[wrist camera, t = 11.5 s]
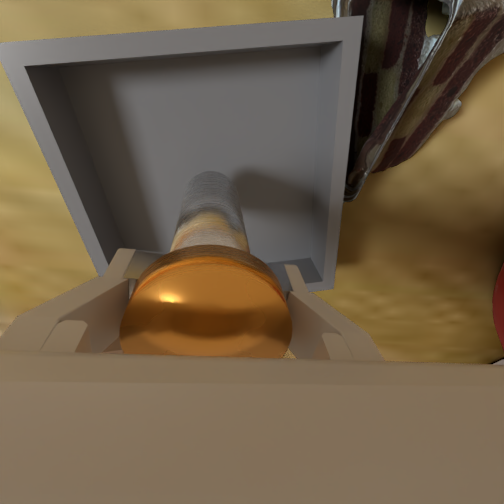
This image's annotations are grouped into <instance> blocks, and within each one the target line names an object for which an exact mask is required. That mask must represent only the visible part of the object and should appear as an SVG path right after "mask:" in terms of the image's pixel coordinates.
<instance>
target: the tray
mask: <svg viewBox="0 0 504 504" xmlns="http://www.w3.org/2000/svg"><path fill="white" fill-rule="evenodd" d="M363 17H364V15H363V16H350V17H337V18H323V19H310V20H297V21H283V22H270V23H257V24H243V25H230V26H217V27H203V28H190V29H177V30H163V31H150V32H137V33H123V34H110V35H97V36H83V37H70V38H57V39H43V40H30V41H16V42H3V43H0V61H1V63H2V65H3V68H4V70H5V72H6V74H7V76H8V78H9V81H10V83H11V85H12V87H13V89H14V92H15V94H16V96H17V98H18V100H19V102H20V105H21V107H22V109H23V111H24V113H25V116H26V118H27V120H28V122H29V124H30V127H31V129H32V131H33V133H34V135H35V137H36V140H37V142H38V144H39V146H40V148H41V151H42V153H43V155H44V157H45V159H46V161H47V164H48V166H49V168H50V170H51V172H52V175H53V177H54V179H55V181H56V183H57V185H58V188H59V190H60V192H61V194H62V196H63V199H64V201H65V203H66V205H67V207H68V209H69V212H70V214H71V216H72V218H73V220H74V223H75V225H76V227H77V229H78V231H79V233H80V236H81V238H82V240H83V242H84V244H85V247H86V249H87V251H88V253H89V255H90V257H91V260H92V262H93V264H94V266H95V268H96V271H97V273H98V275H99V277H103V275H104V274H105V272H106V270H107V268H108V266H109V265H110V263H111V261H112V259H113V257H114V256H115V254H116V252H117V250H118V249H120V248H126V249H135V250H144V251H153V252H161V253H167V254H168V253H170V249H171V245H172V241H173V237H174V233H175V229H176V225H177V221H178V217H179V213H180V209H181V205H182V201H183V197H184V193H185V189H186V186H187V184H188V183H189V181H190V180H191V179H192V178H193V177H194V176H196V175H197V174H199V173H202V172H206V171H215V172H219V173H222V174H224V175H226V176H227V177H229V178H230V179H231V180H232V181H233V183H234V184H235V186H236V188H237V191H238V195H239V200H240V205H241V210H242V215H243V220H244V225H245V229H246V234H247V239H248V244H249V249H250V254H252V255H254V256H255V257H257V258H259V259H260V260H261V261H263V262H264V263H274V264H291V265H296V266H297V267H298V269H299V271H300V273H301V276H302V278H303V280H304V282H305V285H306V287H307V289H308V291H309V292H313V291H321V290H329V289H333V288H334V279H335V270H336V261H337V252H338V243H339V234H340V225H341V216H342V207H343V198H344V189H345V180H346V171H347V162H348V153H349V143H350V134H351V125H352V116H353V107H354V98H355V89H356V80H357V71H358V62H359V53H360V44H361V35H362V26H363Z"/></svg>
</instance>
